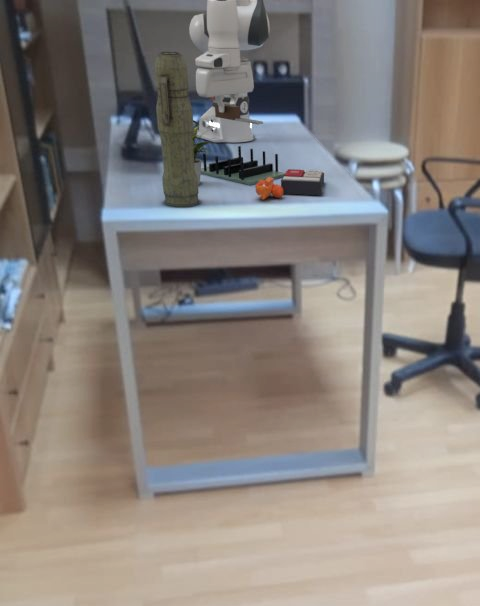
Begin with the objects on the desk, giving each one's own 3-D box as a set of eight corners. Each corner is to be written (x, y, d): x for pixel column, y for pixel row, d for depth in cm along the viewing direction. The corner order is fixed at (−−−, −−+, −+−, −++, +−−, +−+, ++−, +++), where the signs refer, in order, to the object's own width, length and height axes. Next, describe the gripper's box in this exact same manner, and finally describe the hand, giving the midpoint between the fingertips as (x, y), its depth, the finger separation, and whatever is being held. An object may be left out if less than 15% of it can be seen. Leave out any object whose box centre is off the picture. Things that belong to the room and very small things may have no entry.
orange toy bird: (264, 169, 213) (255, 180, 203) (289, 180, 214) (282, 191, 204) (258, 187, 216) (249, 198, 206) (284, 197, 217) (276, 209, 207)
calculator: (324, 169, 225) (320, 179, 212) (324, 185, 228) (320, 195, 214) (286, 167, 225) (280, 177, 212) (286, 183, 228) (280, 193, 214)
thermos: (204, 197, 208) (194, 51, 190) (192, 209, 198) (181, 56, 180) (171, 195, 209) (158, 49, 190) (158, 207, 199) (143, 54, 180)
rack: (195, 172, 232) (194, 151, 229) (233, 163, 243) (232, 144, 240) (250, 185, 222) (249, 164, 219) (286, 175, 233) (286, 155, 230)
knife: (215, 117, 230) (214, 103, 228) (221, 116, 232) (220, 103, 230) (257, 124, 222) (257, 111, 220) (263, 123, 224) (263, 110, 222)
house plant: (171, 192, 211) (165, 128, 203) (154, 181, 221) (147, 119, 212) (220, 187, 218) (216, 125, 209) (201, 176, 228) (197, 116, 219)
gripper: (241, 55, 230) (243, 106, 237) (190, 59, 215) (194, 113, 223) (257, 57, 227) (259, 109, 234) (206, 61, 212) (210, 116, 220)
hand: (227, 111), depth 228 cm, fingers closed on knife, 2 cm apart
